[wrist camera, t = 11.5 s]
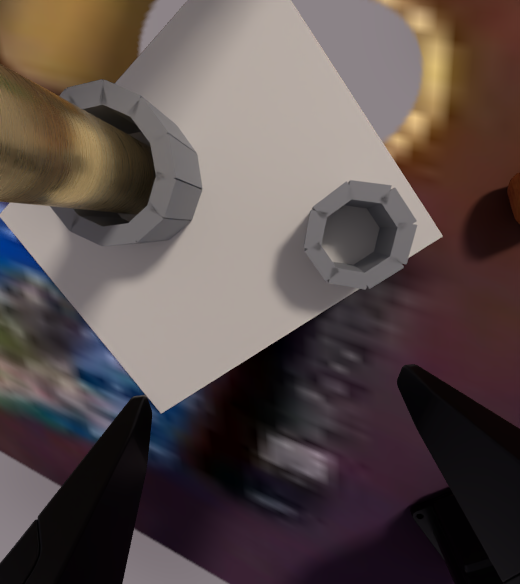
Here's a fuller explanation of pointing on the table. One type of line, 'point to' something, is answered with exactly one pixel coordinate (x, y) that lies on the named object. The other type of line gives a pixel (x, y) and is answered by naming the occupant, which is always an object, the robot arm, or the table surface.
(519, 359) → the table surface
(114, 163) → the disc
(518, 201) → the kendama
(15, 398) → the table surface
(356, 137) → the socket plate
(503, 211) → the table surface
